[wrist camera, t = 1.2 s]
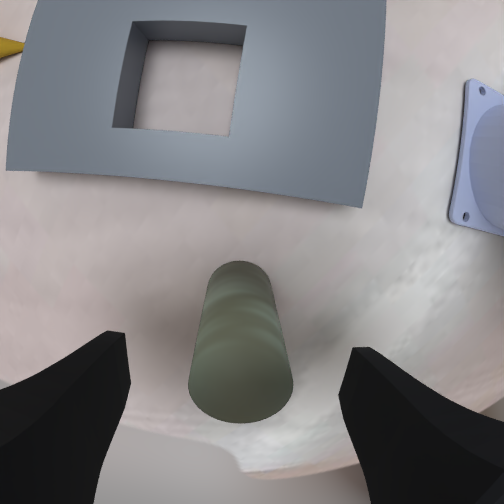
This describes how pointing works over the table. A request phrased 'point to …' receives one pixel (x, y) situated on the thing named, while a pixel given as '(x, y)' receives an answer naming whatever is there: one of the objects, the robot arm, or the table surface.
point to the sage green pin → (240, 348)
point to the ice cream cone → (10, 47)
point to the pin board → (245, 104)
